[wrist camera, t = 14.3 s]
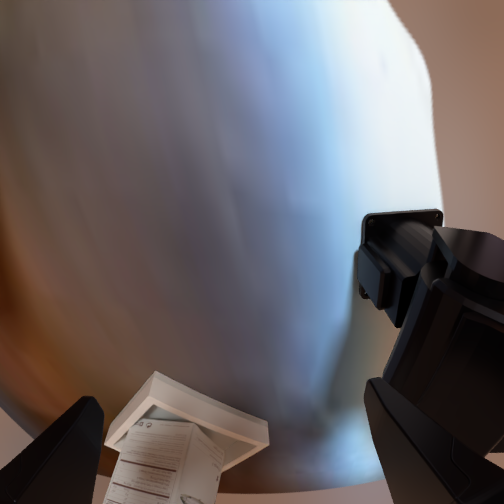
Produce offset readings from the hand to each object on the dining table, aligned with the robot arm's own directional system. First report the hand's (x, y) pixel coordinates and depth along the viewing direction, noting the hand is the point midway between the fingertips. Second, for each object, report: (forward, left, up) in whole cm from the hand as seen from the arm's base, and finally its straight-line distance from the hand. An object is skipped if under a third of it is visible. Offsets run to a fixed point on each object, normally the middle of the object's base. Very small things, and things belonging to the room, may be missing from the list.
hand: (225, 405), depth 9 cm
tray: (+8, +20, -13) cm, 25 cm away
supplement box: (+8, +19, -11) cm, 23 cm away
